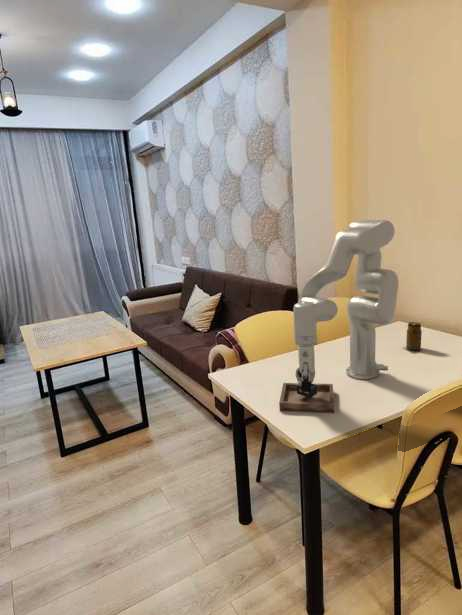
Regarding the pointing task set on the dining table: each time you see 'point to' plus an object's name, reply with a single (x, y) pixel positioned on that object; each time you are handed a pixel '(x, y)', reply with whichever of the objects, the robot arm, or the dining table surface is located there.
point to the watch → (313, 387)
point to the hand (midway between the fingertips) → (306, 385)
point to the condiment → (414, 338)
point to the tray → (307, 399)
